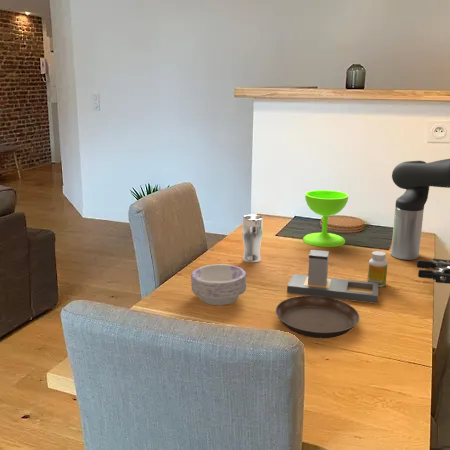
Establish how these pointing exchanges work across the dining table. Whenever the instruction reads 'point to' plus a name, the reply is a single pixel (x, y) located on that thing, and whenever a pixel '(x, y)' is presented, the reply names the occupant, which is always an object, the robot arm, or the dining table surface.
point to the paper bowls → (218, 283)
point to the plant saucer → (317, 316)
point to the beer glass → (252, 237)
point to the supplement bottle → (377, 268)
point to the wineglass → (325, 215)
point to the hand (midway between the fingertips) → (417, 268)
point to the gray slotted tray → (330, 282)
